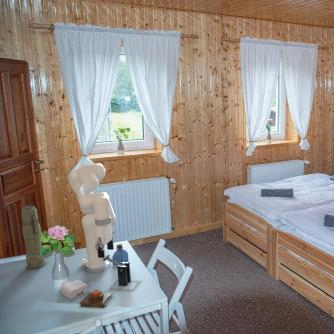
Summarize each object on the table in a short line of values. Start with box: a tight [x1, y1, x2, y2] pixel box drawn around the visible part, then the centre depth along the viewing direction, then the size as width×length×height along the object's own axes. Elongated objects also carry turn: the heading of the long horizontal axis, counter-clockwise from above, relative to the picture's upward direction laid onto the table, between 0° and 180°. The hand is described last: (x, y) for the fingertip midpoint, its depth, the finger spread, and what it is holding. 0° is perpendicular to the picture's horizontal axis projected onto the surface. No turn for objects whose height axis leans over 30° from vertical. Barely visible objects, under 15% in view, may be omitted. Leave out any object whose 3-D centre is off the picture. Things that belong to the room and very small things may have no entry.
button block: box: [79, 290, 113, 309], centre depth 181 cm, size 11×9×4 cm
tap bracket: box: [116, 261, 132, 287], centre depth 195 cm, size 12×9×12 cm
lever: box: [103, 254, 128, 269], centre depth 194 cm, size 12×5×2 cm
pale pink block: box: [60, 279, 90, 300], centre depth 190 cm, size 5×9×15 cm
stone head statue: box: [20, 204, 46, 270], centre depth 216 cm, size 9×12×35 cm
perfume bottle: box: [111, 243, 130, 266], centre depth 218 cm, size 6×6×12 cm
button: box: [91, 289, 101, 297], centre depth 181 cm, size 4×4×2 cm
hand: (106, 253), depth 194 cm, fingers open, 9 cm apart
